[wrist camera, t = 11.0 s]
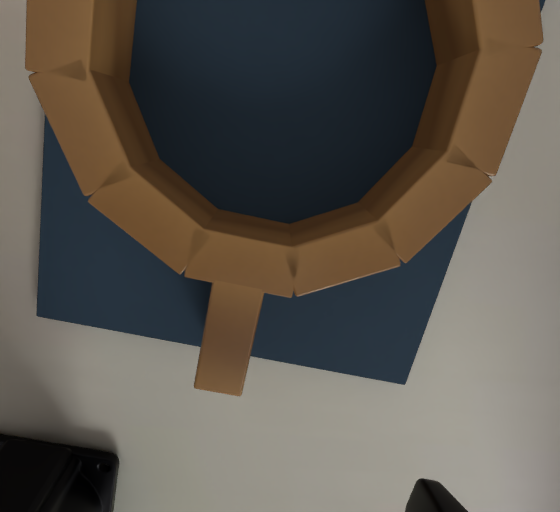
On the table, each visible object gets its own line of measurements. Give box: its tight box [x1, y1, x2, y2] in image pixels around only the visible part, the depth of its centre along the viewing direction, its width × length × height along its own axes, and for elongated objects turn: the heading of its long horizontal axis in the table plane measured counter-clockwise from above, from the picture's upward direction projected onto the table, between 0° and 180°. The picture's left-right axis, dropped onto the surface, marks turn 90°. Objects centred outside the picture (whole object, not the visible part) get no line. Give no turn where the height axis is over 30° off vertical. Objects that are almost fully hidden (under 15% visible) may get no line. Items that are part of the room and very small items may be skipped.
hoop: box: [25, 0, 543, 396], centre depth 12 cm, size 17×13×3 cm
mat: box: [37, 0, 545, 385], centre depth 13 cm, size 20×15×1 cm
